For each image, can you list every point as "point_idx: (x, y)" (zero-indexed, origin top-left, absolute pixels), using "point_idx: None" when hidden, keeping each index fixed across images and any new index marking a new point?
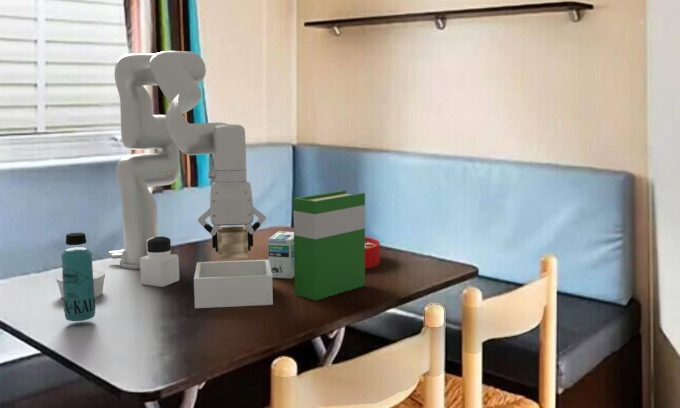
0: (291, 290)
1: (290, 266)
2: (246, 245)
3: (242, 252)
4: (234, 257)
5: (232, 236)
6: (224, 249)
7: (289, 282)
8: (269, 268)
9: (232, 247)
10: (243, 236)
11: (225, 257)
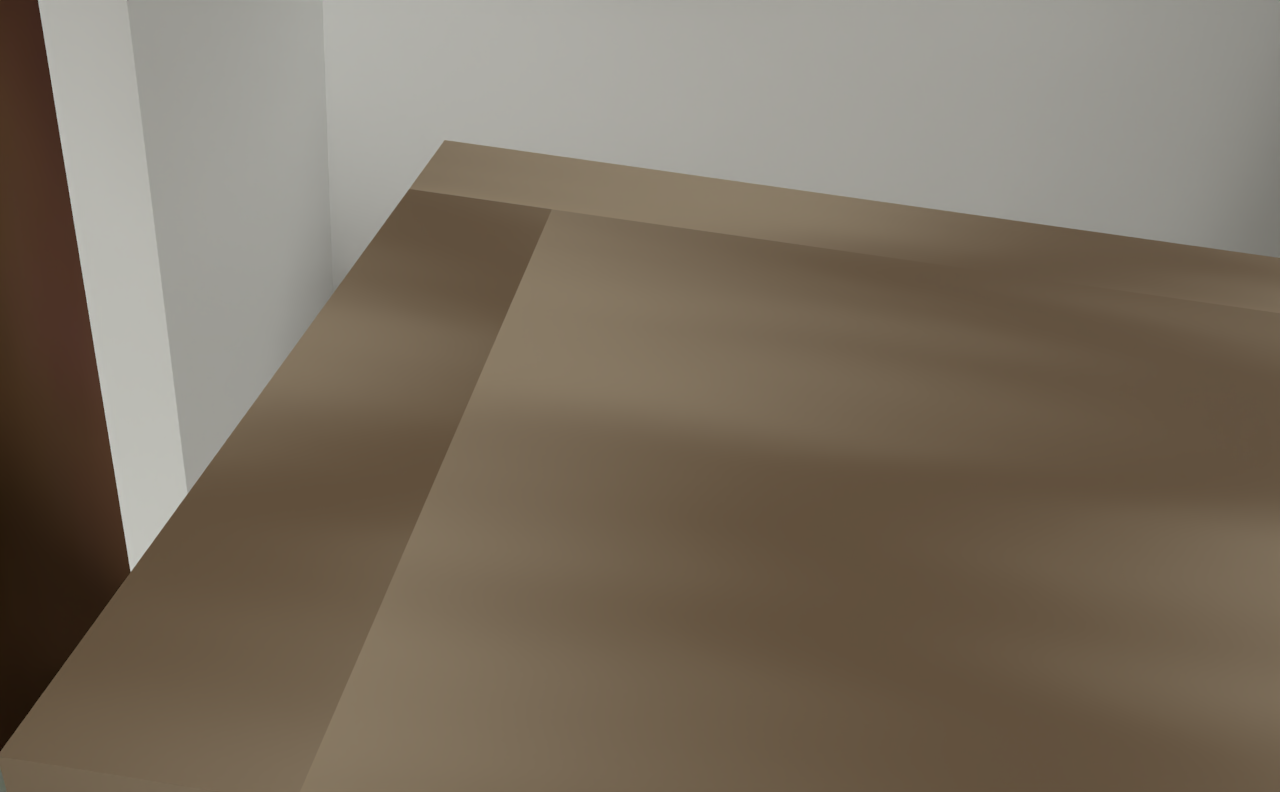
0: (35, 273)
1: (3, 782)
2: (371, 332)
3: (590, 233)
4: (865, 206)
5: (1021, 747)
6: (1265, 398)
7: (87, 569)
8: (103, 259)
9: (957, 387)
10: (362, 614)
11: (1151, 252)
